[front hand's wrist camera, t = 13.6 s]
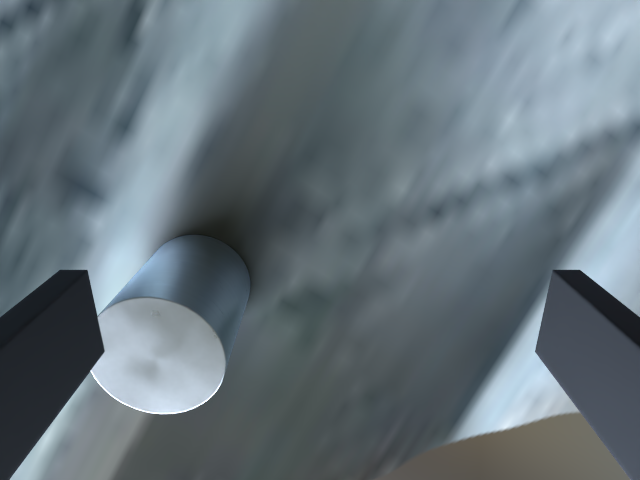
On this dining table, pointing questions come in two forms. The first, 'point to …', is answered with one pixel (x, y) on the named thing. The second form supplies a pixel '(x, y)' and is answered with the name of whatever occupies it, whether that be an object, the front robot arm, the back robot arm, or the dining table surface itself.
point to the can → (174, 326)
